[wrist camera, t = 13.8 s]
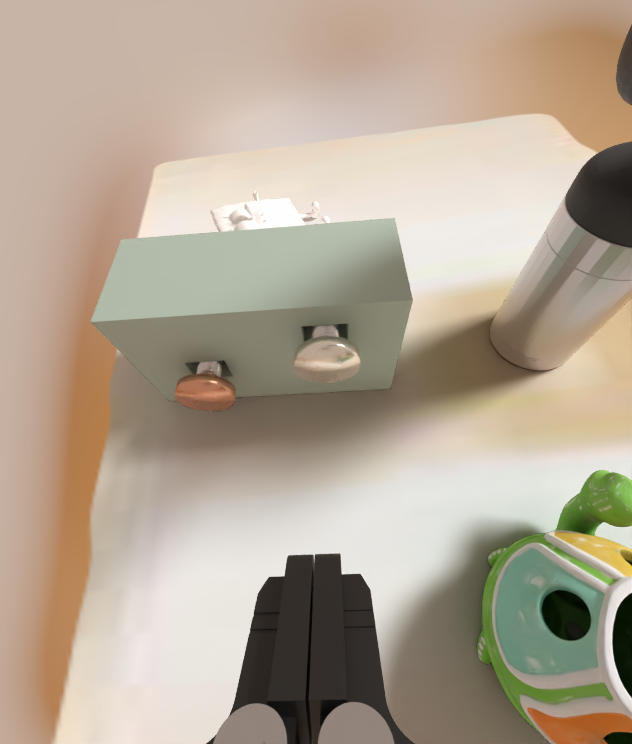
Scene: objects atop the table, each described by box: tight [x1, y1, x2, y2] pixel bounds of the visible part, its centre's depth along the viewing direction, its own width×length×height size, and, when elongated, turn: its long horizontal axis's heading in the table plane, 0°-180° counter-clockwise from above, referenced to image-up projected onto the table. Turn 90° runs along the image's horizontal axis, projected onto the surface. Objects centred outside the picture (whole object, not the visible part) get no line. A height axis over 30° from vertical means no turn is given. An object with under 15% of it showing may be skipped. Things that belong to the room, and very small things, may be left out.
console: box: [91, 218, 413, 401], centre depth 37 cm, size 10×26×15 cm, turn 92°
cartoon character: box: [210, 190, 330, 232], centre depth 53 cm, size 8×20×16 cm
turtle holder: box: [477, 470, 632, 744], centre depth 24 cm, size 12×18×12 cm
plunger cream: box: [294, 324, 361, 383], centre depth 33 cm, size 13×6×6 cm, turn 2°
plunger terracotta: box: [174, 360, 236, 411], centre depth 37 cm, size 13×6×6 cm, turn 2°
